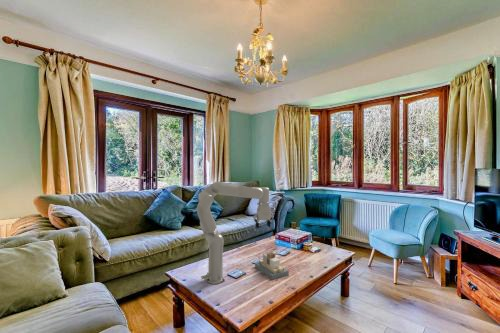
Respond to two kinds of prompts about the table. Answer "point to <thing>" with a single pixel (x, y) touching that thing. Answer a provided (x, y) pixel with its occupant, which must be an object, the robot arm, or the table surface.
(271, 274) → the dock
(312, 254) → the table surface
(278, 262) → the crate
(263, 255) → the block
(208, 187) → the robot arm
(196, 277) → the table surface
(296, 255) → the table surface
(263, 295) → the table surface
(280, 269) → the pallet
